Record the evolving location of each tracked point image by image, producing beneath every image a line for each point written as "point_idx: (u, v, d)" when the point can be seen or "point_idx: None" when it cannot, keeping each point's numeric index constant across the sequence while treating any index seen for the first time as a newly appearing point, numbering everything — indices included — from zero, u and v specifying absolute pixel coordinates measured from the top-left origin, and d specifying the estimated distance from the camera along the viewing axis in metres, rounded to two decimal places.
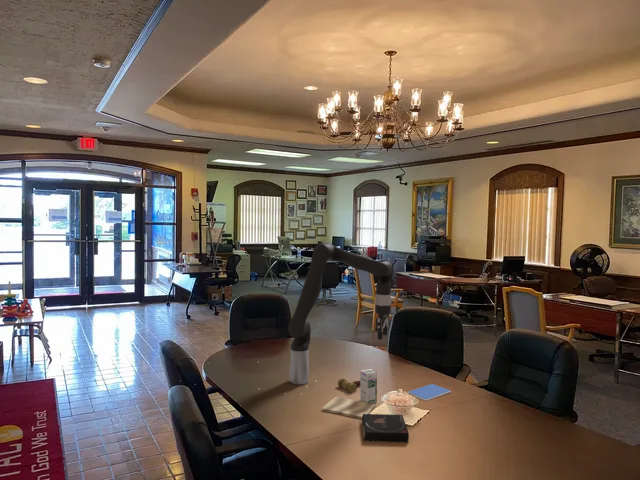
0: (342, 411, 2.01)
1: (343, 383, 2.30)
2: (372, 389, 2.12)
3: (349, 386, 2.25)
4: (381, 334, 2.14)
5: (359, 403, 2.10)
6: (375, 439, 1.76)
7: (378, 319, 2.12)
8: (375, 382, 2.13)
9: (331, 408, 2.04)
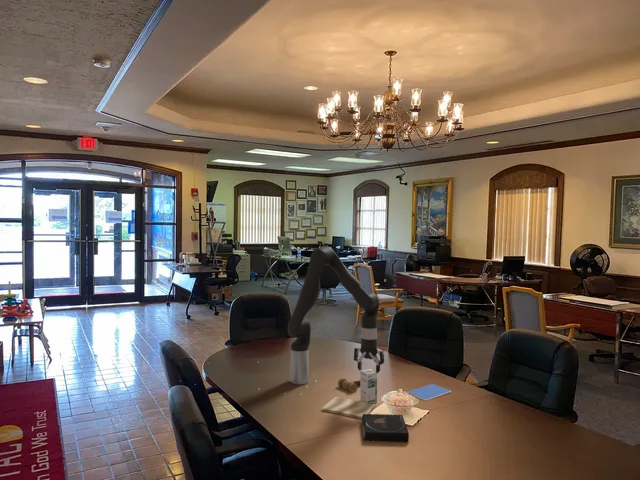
0: (342, 411, 2.01)
1: (343, 383, 2.30)
2: (372, 389, 2.12)
3: (349, 386, 2.25)
4: None
5: (359, 403, 2.10)
6: (375, 439, 1.76)
7: (382, 352, 2.10)
8: (375, 382, 2.13)
9: (331, 408, 2.04)
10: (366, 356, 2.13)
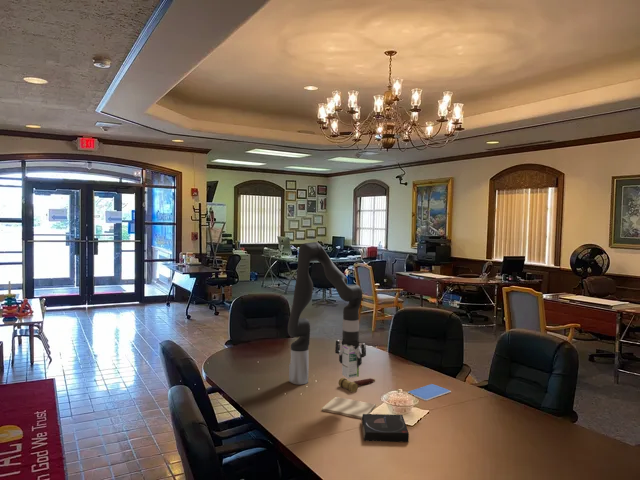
0: (342, 411, 2.01)
1: (344, 383, 2.30)
2: (354, 363, 2.07)
3: (350, 386, 2.26)
4: None
5: (359, 403, 2.10)
6: (375, 439, 1.76)
7: (364, 345, 2.06)
8: None
9: (331, 408, 2.04)
10: None
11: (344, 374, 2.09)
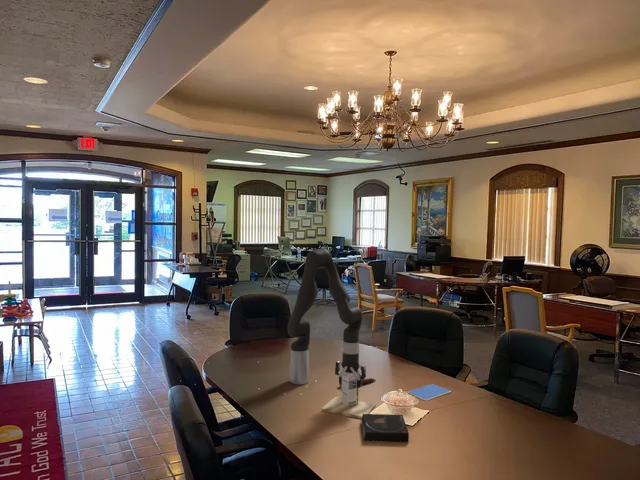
0: (342, 411, 2.01)
1: None
2: (353, 390, 2.07)
3: None
4: None
5: (359, 403, 2.10)
6: (375, 439, 1.76)
7: (364, 367, 2.06)
8: None
9: (331, 408, 2.04)
10: (347, 370, 2.09)
11: (344, 401, 2.09)
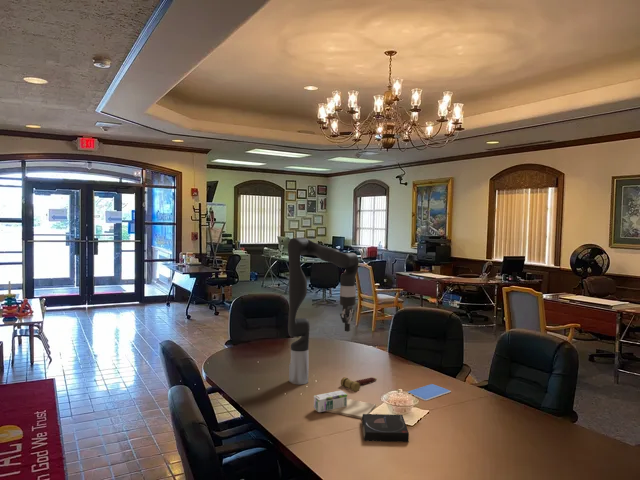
0: (342, 411, 2.01)
1: (346, 382, 2.31)
2: (334, 402, 2.03)
3: (352, 385, 2.27)
4: None
5: (359, 403, 2.10)
6: (375, 439, 1.76)
7: None
8: (328, 399, 2.01)
9: None
10: None
11: None
